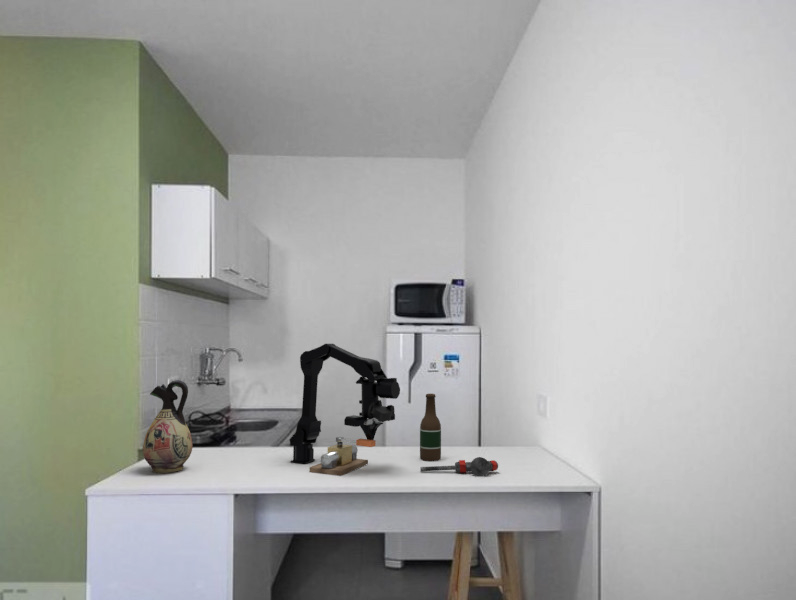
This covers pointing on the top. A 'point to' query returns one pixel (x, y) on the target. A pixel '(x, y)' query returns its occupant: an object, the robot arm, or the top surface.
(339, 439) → the lever
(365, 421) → the robot arm
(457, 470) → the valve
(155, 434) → the ceramic jug
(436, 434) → the beer bottle
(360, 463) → the valve base
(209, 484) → the top surface
